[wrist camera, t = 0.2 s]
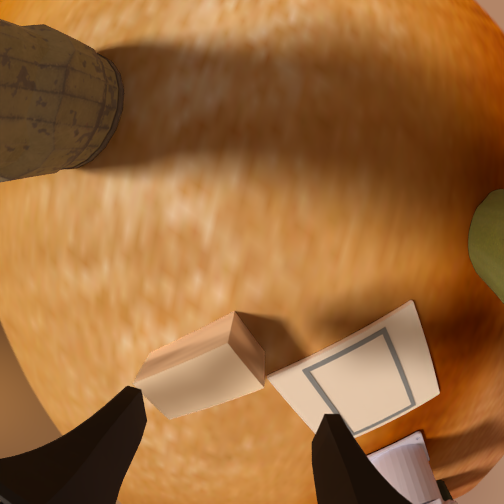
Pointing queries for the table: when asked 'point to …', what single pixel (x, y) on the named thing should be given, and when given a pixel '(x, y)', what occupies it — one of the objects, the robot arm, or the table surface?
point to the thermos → (53, 101)
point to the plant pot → (489, 241)
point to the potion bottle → (443, 490)
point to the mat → (363, 375)
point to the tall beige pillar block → (203, 368)
